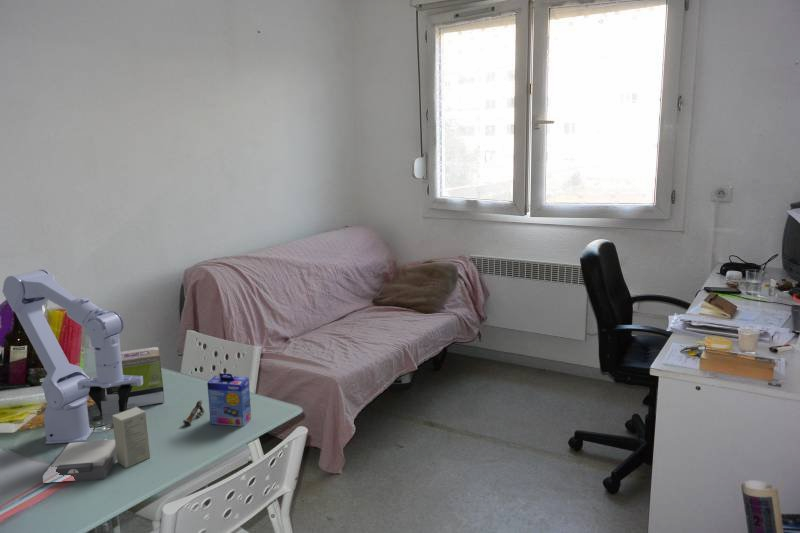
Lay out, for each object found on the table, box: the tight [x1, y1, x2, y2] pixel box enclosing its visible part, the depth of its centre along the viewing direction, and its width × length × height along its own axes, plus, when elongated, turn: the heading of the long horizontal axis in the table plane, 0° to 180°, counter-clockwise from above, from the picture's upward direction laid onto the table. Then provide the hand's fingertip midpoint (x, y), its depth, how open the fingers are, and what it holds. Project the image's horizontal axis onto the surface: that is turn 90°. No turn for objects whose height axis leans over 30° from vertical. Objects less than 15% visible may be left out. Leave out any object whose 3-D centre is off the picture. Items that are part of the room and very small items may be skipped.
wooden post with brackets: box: [182, 399, 205, 426], centre depth 162 cm, size 2×8×4 cm, turn 166°
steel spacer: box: [101, 394, 121, 425], centre depth 146 cm, size 4×4×6 cm
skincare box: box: [112, 407, 151, 468], centre depth 140 cm, size 6×4×12 cm
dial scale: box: [50, 438, 117, 482], centre depth 139 cm, size 13×14×3 cm
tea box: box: [105, 346, 166, 410], centre depth 173 cm, size 15×10×15 cm, turn 115°
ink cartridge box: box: [206, 373, 252, 427], centre depth 160 cm, size 10×6×14 cm, turn 81°
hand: (114, 414), depth 147 cm, fingers closed on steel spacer, 4 cm apart
